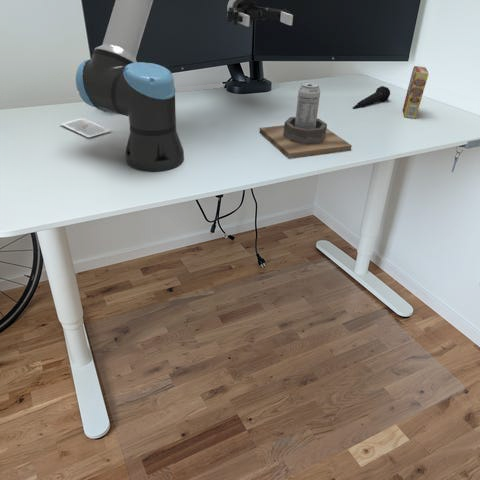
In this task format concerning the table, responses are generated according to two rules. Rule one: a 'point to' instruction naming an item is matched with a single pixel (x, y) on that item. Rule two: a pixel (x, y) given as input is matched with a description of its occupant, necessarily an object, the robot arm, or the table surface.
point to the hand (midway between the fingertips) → (270, 20)
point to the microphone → (375, 97)
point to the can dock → (303, 148)
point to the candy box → (415, 91)
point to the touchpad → (85, 127)
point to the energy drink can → (307, 105)
